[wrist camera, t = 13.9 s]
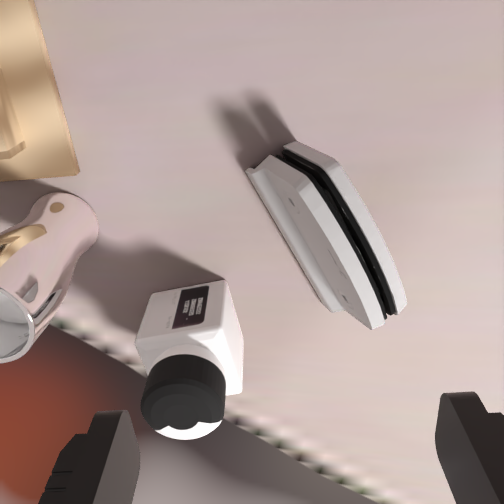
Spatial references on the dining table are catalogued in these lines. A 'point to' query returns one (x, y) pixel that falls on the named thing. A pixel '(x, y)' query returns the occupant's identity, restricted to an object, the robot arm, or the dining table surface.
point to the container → (190, 358)
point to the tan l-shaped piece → (30, 101)
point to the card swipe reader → (330, 233)
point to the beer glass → (40, 267)
